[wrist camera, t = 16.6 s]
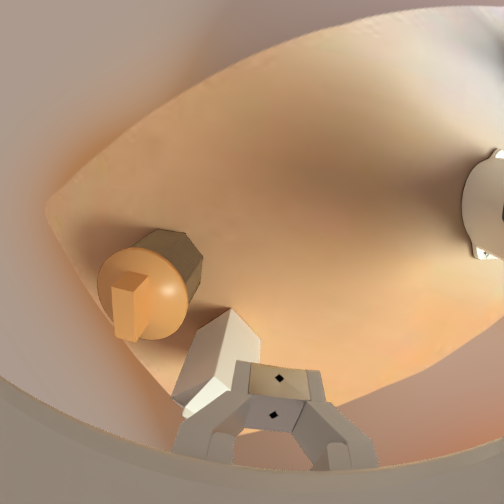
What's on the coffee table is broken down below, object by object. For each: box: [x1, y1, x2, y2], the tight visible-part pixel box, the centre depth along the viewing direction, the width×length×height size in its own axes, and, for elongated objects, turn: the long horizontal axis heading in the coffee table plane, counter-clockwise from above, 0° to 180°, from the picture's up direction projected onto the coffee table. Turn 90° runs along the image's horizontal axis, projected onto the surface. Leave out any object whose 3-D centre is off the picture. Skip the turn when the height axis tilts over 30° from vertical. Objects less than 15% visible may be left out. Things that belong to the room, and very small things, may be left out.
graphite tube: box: [130, 229, 203, 305], centre depth 35 cm, size 10×10×10 cm
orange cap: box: [97, 247, 188, 343], centre depth 29 cm, size 11×11×7 cm
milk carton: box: [171, 308, 261, 419], centre depth 34 cm, size 7×7×19 cm
